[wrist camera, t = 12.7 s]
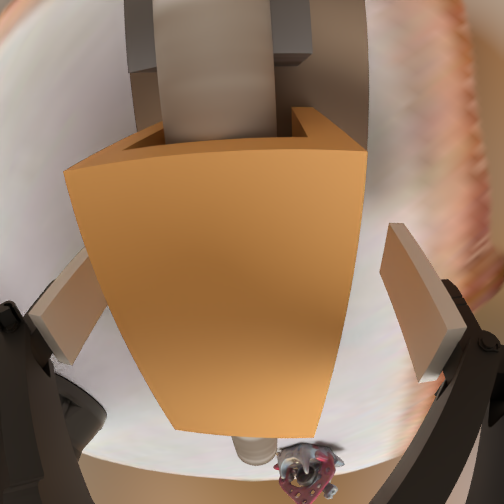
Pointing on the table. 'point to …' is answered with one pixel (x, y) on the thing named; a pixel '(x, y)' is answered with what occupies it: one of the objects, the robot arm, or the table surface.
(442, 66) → the table surface
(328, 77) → the shaft stand
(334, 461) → the brake caliper
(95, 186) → the box
